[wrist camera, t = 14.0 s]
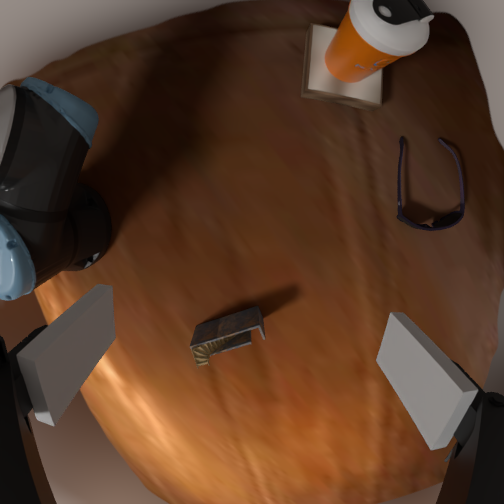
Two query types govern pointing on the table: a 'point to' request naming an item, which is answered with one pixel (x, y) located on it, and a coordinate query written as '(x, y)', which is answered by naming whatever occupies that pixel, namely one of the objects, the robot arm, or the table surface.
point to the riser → (329, 87)
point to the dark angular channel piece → (225, 334)
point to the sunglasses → (446, 220)
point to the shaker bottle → (376, 36)
